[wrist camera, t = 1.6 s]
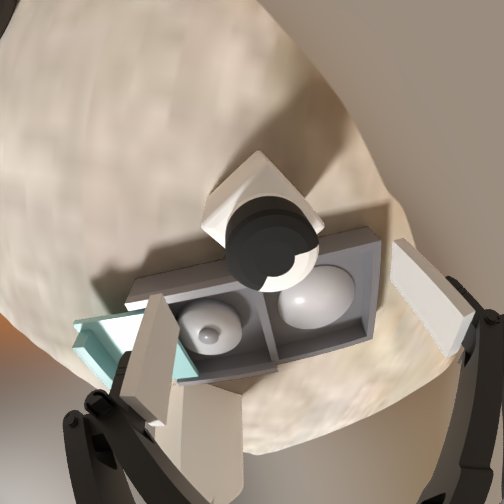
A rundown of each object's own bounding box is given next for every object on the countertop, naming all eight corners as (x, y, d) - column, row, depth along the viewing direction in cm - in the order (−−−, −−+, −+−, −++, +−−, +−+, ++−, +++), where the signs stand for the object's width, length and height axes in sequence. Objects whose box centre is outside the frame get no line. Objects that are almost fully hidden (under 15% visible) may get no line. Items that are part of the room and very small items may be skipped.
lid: (74, 320, 28) (64, 341, 25) (160, 306, 28) (154, 330, 25) (120, 378, 35) (115, 398, 31) (198, 371, 34) (197, 394, 31)
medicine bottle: (205, 198, 27) (191, 261, 16) (258, 148, 25) (281, 178, 14) (254, 242, 29) (269, 320, 19) (305, 198, 27) (350, 258, 17)
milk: (184, 375, 40) (177, 527, 18) (241, 395, 44) (253, 529, 22) (157, 400, 44) (146, 522, 22) (208, 417, 49) (210, 529, 26)
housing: (135, 278, 30) (124, 303, 26) (367, 226, 30) (386, 245, 25) (182, 361, 38) (179, 386, 34) (363, 322, 37) (375, 344, 33)
